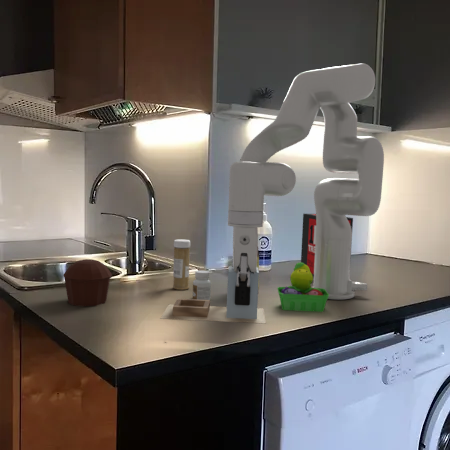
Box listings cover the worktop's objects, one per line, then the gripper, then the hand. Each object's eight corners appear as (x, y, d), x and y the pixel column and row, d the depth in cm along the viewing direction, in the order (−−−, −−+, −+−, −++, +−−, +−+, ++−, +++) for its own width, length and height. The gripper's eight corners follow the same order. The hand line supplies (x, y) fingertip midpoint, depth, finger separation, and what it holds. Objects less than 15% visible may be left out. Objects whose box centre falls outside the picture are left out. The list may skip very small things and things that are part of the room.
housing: (256, 311, 114) (258, 267, 113) (256, 319, 108) (258, 272, 107) (227, 309, 115) (229, 266, 114) (226, 317, 108) (228, 271, 107)
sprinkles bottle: (192, 289, 139) (193, 240, 138) (177, 290, 137) (178, 241, 135) (184, 286, 143) (185, 238, 142) (169, 287, 140) (170, 239, 139)
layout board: (263, 312, 117) (265, 274, 116) (265, 327, 105) (267, 285, 104) (168, 308, 118) (169, 270, 117) (160, 323, 106) (161, 280, 105)
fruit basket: (278, 315, 116) (280, 266, 115) (276, 305, 124) (278, 260, 123) (328, 317, 115) (331, 268, 114) (322, 307, 124) (325, 262, 123)
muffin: (60, 297, 125) (60, 257, 124) (106, 294, 129) (106, 256, 128) (66, 309, 114) (67, 265, 113) (116, 306, 119) (116, 263, 118)
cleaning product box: (349, 282, 156) (353, 218, 155) (323, 283, 154) (326, 217, 152) (324, 272, 172) (327, 213, 170) (300, 273, 170) (303, 213, 168)
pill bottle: (192, 300, 127) (193, 269, 126) (209, 300, 127) (210, 270, 126) (192, 304, 122) (193, 273, 122) (210, 305, 123) (211, 273, 122)
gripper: (264, 223, 101) (260, 311, 102) (261, 217, 118) (258, 292, 119) (226, 222, 101) (223, 310, 102) (229, 215, 118) (226, 291, 120)
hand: (242, 300), depth 111 cm, fingers closed on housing, 6 cm apart
